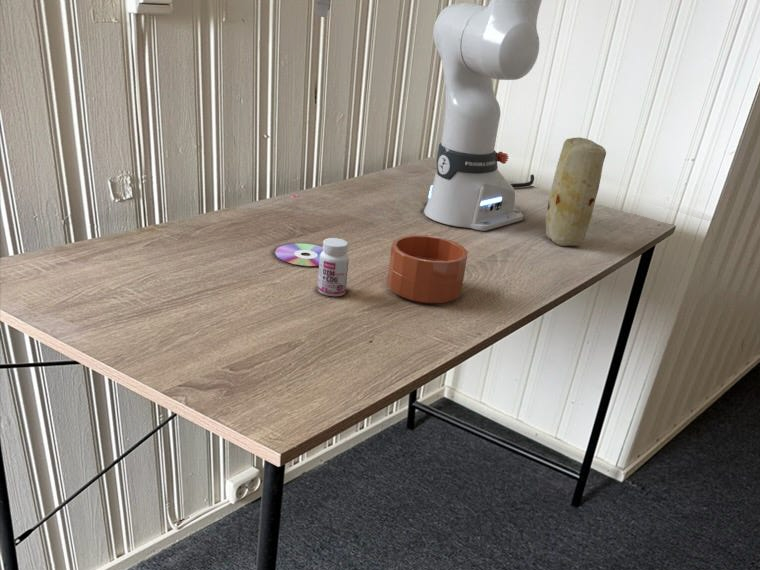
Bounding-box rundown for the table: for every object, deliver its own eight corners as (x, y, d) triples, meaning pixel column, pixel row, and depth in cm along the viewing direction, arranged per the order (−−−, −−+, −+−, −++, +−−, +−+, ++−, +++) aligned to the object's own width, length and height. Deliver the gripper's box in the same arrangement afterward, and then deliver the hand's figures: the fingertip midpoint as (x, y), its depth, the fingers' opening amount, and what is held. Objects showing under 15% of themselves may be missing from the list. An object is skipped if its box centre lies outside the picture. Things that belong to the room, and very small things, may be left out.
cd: (262, 251, 150) (262, 250, 150) (305, 239, 157) (306, 239, 157) (305, 271, 144) (305, 270, 144) (349, 258, 152) (349, 257, 152)
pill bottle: (319, 297, 136) (322, 246, 131) (315, 285, 140) (318, 236, 135) (348, 297, 138) (352, 247, 132) (343, 286, 141) (347, 237, 136)
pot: (429, 272, 151) (435, 231, 146) (475, 299, 143) (483, 256, 138) (372, 282, 144) (377, 239, 139) (417, 311, 136) (423, 266, 132)
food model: (589, 245, 173) (615, 144, 161) (574, 252, 168) (600, 148, 156) (548, 232, 177) (571, 132, 165) (533, 238, 173) (555, 136, 161)
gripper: (350, -91, 115) (340, 23, 123) (353, -92, 131) (344, 9, 139) (305, -98, 114) (298, 17, 122) (313, -98, 131) (307, 3, 139)
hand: (323, 13), depth 131 cm, fingers open, 8 cm apart
